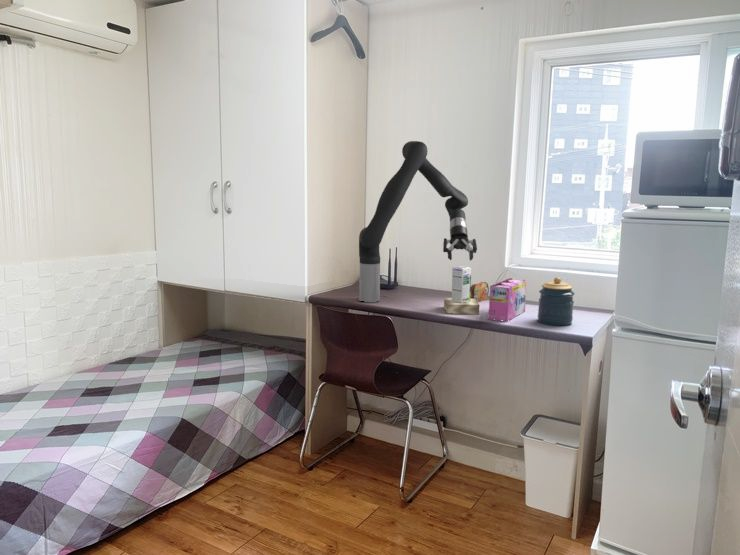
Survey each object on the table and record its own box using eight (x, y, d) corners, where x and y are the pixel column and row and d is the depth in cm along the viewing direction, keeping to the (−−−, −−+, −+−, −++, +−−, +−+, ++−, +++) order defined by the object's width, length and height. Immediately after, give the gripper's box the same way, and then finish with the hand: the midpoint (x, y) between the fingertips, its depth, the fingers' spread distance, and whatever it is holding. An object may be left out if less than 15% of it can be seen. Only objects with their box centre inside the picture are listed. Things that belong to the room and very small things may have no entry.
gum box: (508, 308, 238) (509, 277, 236) (526, 311, 234) (528, 279, 232) (487, 319, 218) (489, 285, 216) (507, 322, 214) (509, 287, 212)
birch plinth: (447, 313, 227) (447, 304, 226) (443, 307, 240) (444, 298, 239) (479, 314, 226) (479, 304, 226) (474, 307, 239) (474, 298, 239)
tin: (474, 303, 248) (475, 285, 246) (467, 302, 249) (468, 284, 248) (489, 298, 259) (489, 281, 258) (482, 297, 261) (483, 280, 260)
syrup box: (461, 303, 229) (463, 268, 226) (450, 300, 233) (452, 266, 231) (470, 301, 232) (472, 267, 230) (459, 299, 237) (461, 265, 234)
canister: (543, 326, 209) (546, 279, 206) (533, 318, 222) (535, 274, 219) (577, 326, 209) (581, 280, 206) (565, 318, 222) (568, 274, 219)
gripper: (443, 224, 243) (444, 253, 233) (475, 224, 242) (478, 254, 233) (441, 235, 249) (443, 264, 239) (473, 235, 248) (476, 264, 239)
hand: (460, 259), depth 236 cm, fingers open, 8 cm apart
